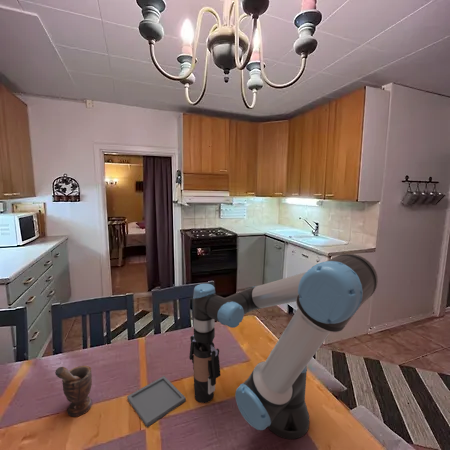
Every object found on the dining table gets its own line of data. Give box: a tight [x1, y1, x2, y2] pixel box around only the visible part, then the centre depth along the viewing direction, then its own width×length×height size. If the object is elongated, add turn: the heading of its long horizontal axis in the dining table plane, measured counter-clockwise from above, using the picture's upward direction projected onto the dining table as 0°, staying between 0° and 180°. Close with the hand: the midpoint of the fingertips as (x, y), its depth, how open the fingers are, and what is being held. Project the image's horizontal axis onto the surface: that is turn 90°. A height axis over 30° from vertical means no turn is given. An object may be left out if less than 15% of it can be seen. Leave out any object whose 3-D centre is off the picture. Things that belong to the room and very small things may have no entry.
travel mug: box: [193, 342, 215, 404], centre depth 93 cm, size 8×8×20 cm
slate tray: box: [127, 375, 187, 428], centre depth 91 cm, size 15×15×2 cm
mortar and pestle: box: [54, 365, 93, 418], centre depth 85 cm, size 12×9×20 cm
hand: (204, 385), depth 93 cm, fingers closed on travel mug, 8 cm apart
